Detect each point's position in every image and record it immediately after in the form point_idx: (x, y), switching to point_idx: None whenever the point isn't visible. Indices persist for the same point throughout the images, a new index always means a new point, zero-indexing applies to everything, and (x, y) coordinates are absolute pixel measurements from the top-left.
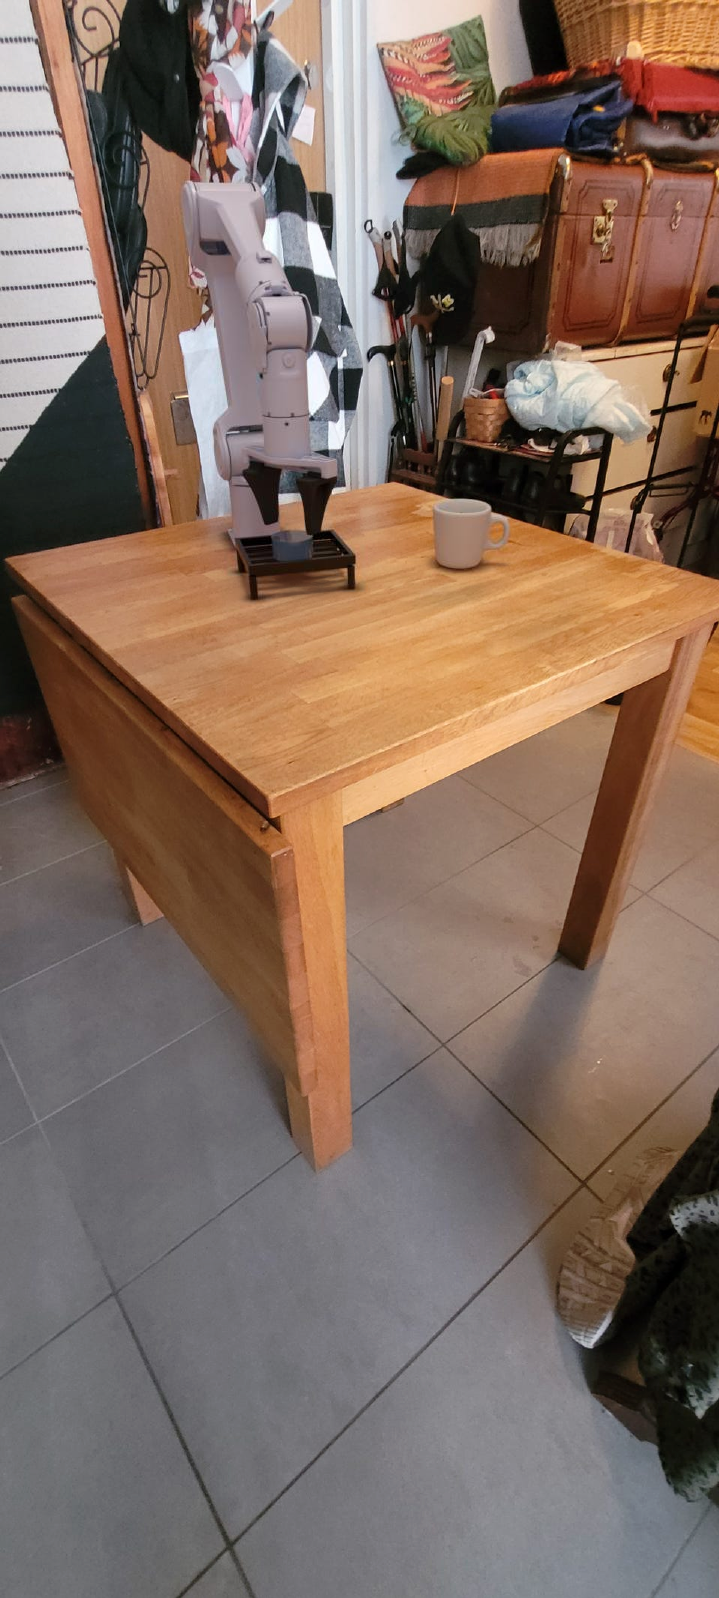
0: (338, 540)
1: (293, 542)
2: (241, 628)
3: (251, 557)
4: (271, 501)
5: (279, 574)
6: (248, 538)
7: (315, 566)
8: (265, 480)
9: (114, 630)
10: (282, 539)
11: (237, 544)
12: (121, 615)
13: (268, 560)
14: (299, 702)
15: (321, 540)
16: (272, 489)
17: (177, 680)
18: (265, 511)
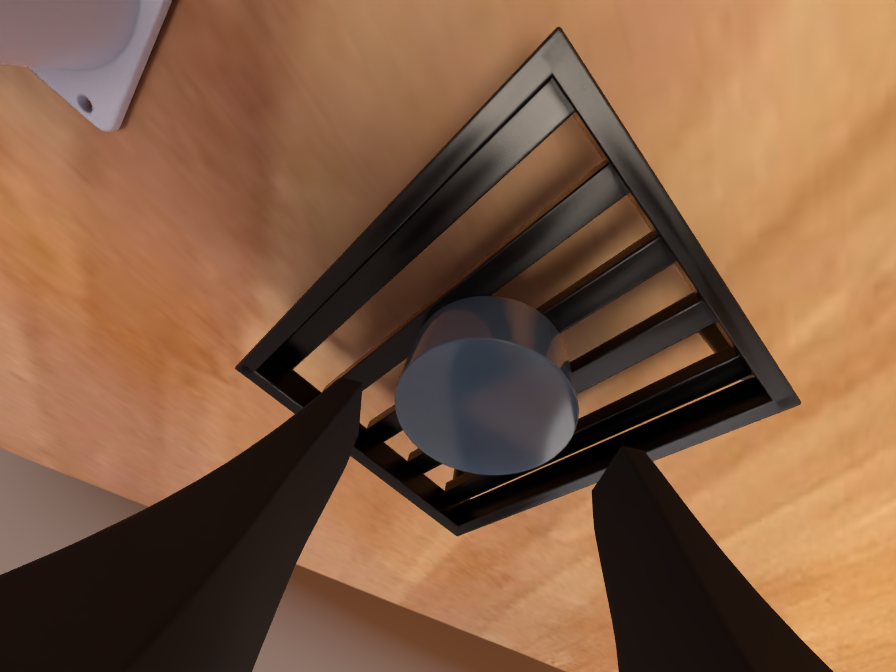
0: (667, 244)
1: (528, 469)
2: (524, 547)
3: None
4: (310, 491)
5: None
6: (273, 352)
7: None
8: (230, 661)
9: (350, 572)
10: (472, 457)
11: (295, 412)
12: (312, 540)
13: None
14: None
15: (508, 128)
16: (269, 545)
17: (529, 641)
18: (331, 488)
